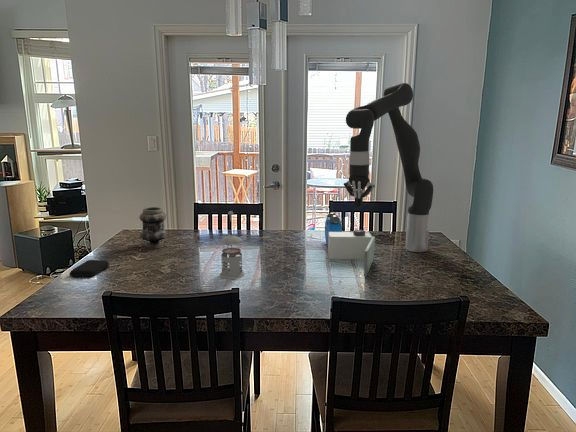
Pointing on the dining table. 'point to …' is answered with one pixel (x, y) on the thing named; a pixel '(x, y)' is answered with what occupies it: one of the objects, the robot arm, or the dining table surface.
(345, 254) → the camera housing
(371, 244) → the side door
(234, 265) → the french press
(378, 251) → the dining table surface
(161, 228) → the apothecary jar
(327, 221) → the alarm clock
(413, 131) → the robot arm
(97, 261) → the carrying case or bag
